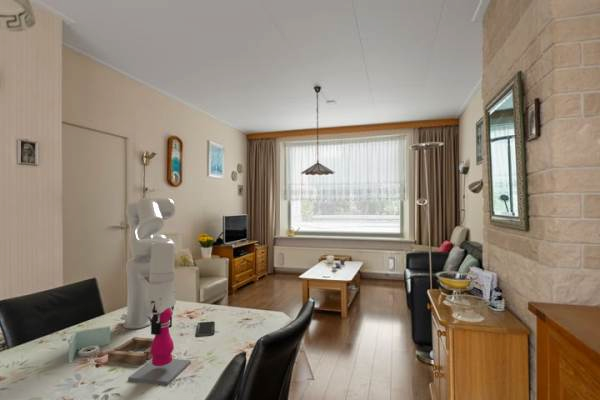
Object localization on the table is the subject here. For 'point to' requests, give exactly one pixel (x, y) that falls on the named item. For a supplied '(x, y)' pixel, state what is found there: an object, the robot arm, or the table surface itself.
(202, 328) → the phone
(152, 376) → the slate tile
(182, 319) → the table surface
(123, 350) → the collar
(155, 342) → the pepper mill
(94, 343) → the right angle wall
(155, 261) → the robot arm
